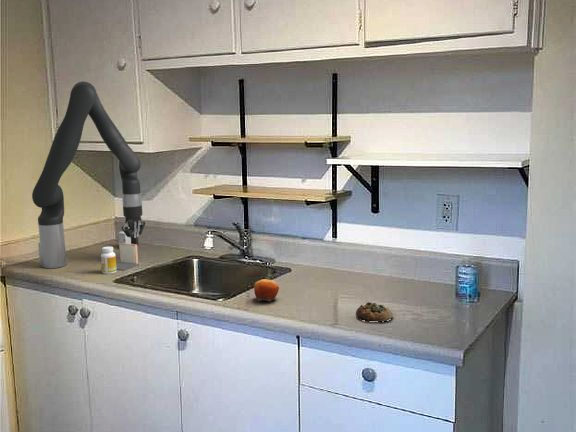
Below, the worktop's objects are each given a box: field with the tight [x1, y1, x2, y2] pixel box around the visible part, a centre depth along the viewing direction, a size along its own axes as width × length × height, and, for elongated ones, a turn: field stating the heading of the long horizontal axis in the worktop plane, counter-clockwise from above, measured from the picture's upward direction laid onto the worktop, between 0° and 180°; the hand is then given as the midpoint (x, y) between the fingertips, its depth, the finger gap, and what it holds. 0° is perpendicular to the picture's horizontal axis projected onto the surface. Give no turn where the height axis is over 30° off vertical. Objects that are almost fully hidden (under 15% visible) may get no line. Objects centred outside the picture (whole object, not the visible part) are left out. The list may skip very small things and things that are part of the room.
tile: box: [118, 242, 139, 264], centre depth 252 cm, size 8×1×8 cm, turn 65°
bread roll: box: [355, 301, 394, 322], centre depth 184 cm, size 11×11×5 cm
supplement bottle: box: [100, 246, 118, 275], centre depth 238 cm, size 5×5×10 cm
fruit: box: [253, 278, 280, 303], centre depth 202 cm, size 8×8×8 cm
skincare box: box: [117, 230, 139, 249], centre depth 279 cm, size 6×6×7 cm
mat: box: [101, 261, 140, 272], centre depth 247 cm, size 11×9×1 cm
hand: (134, 246), depth 255 cm, fingers closed
